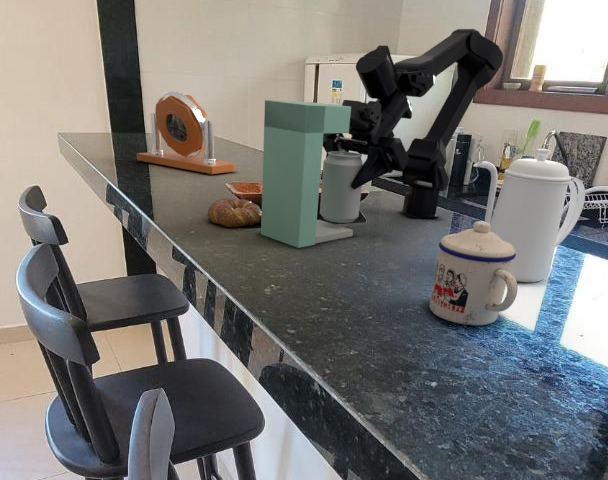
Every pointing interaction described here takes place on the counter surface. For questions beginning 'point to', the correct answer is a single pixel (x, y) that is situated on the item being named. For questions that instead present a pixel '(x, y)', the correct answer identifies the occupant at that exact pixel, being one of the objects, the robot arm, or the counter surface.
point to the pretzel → (234, 213)
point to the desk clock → (183, 136)
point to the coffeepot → (533, 211)
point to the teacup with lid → (473, 277)
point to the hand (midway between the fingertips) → (336, 183)
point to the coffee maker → (297, 170)
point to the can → (340, 187)
